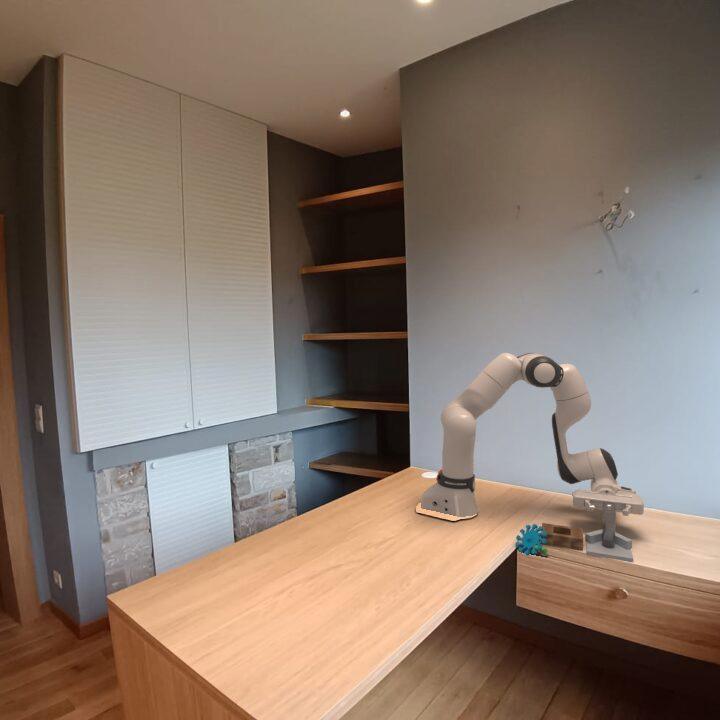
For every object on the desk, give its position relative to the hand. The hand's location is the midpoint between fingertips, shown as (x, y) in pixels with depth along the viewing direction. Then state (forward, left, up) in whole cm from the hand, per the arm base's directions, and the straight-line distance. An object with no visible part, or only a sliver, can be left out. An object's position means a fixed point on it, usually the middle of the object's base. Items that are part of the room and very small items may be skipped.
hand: (608, 511), depth 148 cm
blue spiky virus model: (-21, -15, -11) cm, 28 cm away
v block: (0, -4, -10) cm, 11 cm away
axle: (0, -4, -9) cm, 10 cm away
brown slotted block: (-13, -4, -10) cm, 17 cm away
